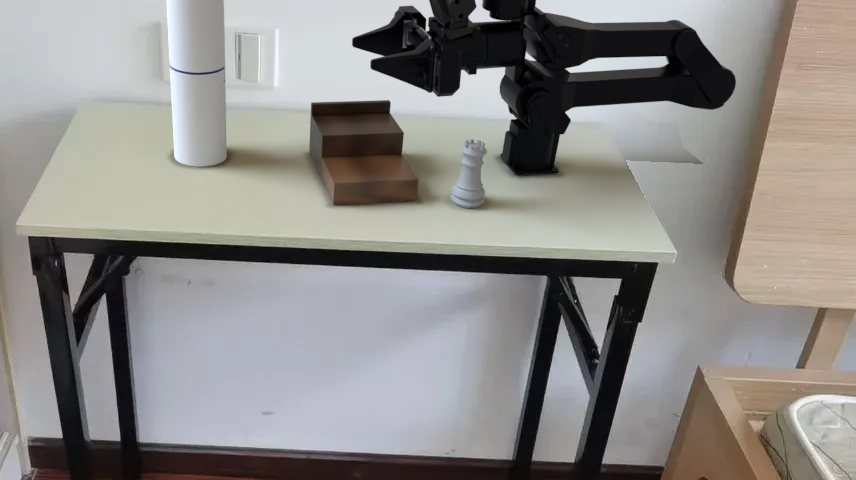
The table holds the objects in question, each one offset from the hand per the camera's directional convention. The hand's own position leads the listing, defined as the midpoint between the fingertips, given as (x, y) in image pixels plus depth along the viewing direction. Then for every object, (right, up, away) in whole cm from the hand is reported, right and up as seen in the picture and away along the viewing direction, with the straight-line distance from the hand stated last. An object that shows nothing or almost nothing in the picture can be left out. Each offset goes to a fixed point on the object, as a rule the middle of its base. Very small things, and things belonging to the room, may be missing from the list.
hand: (361, 53), depth 120 cm
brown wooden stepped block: (0, -14, +9) cm, 17 cm away
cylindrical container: (-22, -10, +12) cm, 27 cm away
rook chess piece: (+14, -18, +4) cm, 23 cm away
